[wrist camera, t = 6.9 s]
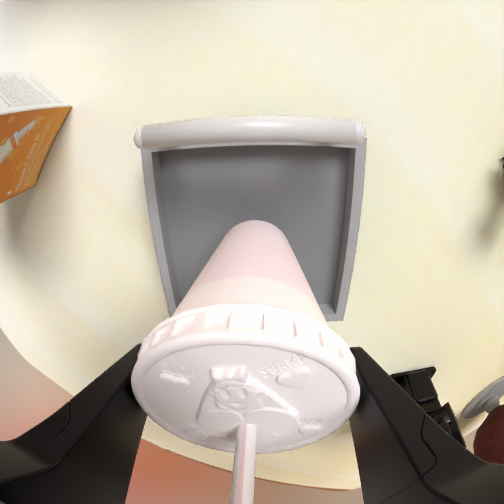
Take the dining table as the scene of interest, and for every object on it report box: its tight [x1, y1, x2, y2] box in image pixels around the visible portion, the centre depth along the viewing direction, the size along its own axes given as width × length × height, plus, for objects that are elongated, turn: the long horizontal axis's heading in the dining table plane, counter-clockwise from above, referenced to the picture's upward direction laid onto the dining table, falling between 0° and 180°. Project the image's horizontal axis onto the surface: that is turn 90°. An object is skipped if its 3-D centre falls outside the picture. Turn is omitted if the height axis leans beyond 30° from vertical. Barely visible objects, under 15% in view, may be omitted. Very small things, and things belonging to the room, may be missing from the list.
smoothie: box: [131, 220, 360, 504], centre depth 9 cm, size 6×6×14 cm
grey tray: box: [134, 116, 367, 321], centre depth 15 cm, size 13×12×8 cm
